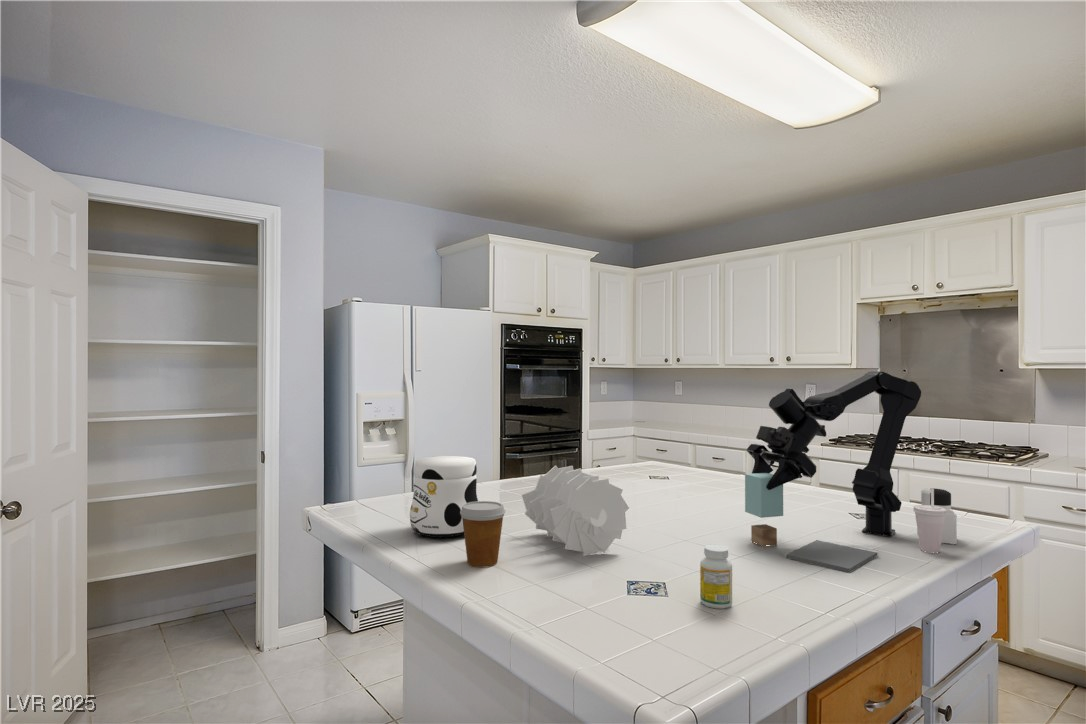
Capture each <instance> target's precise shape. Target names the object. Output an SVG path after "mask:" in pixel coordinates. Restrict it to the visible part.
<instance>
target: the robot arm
mask: <svg viewBox="0 0 1086 724" xmlns="http://www.w3.org/2000/svg"><path fill="white" fill-rule="evenodd" d="M872 393H875V394H877V395H880V404H881V406H882V410H883V414H882V417H881V420H880V423H879V427H878V429H877V434H876V437H875V440H874V443H873V446H872V451H871V453H870V457H869V461H868V463H867V465H866V466H865V467H864V468H856V470H855V474H854V477H853V480H852V481H851V484H852V492H853V493H854V496H855V499H856V503H857V504H858V506H864V507H865V527H864V528H863V529H862V530H861V532H862V533H863V534H864V533H866V534H872V535H878V536H884V537H893V535H894V534H895V533H896V529H894V528H893V527H892V526H893V525H892V523H893V521H892V520H893V519H892V513H895V512H900V510H901V506H902V501H901V500H900V499H899V498H898V496H896V494H895V493H894V492H893V490H894V481H893V476H892V474H891V468H892V464H893V463H894V458H895V455H896V451H897V448H898V445H899V440H900V437H901V435H902V431H903V427H904V425H905V421H906V418H907V417H908V416H909V415H910V414H911V413H912V412H913V411H914V410H916V408H917V406H918V403H919V401H920V399H921V396H922V389H921V388H920V387H919V385H918V383H916V382H915V381H912V380H907V379H903V378H900V377H898V376H894V375H892V374H889V373H888V372H885V371H882V370H881V371H868V372H866V373H864V375H862V376H860V377H859V378H856V379H854V380H853V381H850V382H849V383H847V384H845V385H843V386H841V387H839V388H837V389H835V390H833V391H830V392H823V393H819V394H818V393H817V394H814V395H810V396H809V397H807V398H806V399H805V400H804V401H803V400H802V399H801V398H800V397H799V395H797V393H796V391H795V390H794V389H793V388H785V390H784V391H782V392H779V393H777V394H776V395H775V396H773V397H772V398H771V399H770V400H769V403H768V407H769V408H770V409H771V410H772V411H773V413H774V414H775V415H776V416H777V417H778V418H779V419H780V421H781V422H783V424H785V425H790V426H789V427H788V428H787V427H785V426H778V427H777V428H776V427H771V426H766V425H765V426H764V425H760V426H759V429H758V432H757V434H756V437H755V439H757V440H759V441H760V440H761V442H764V443H766V444H767V445H766V446H767V447H766V446H765V445H764V444H758V443H750V445H749V446H748V447H747V449H746V452H747V453H748V454H749V455H750V456H751V458H752V459H753V460H754V464H753V468H752V470H751V471H752V472H751V474H754V473H769V474H772V472H773V471H774V469H773V468H772V466H773V465H774V464H775V463H778V467H777V469H776V470H775V472H774V473H773V476H772V478H771V479H770V481H769V482H768V484H767V486H766V488H767V489H768V490H771V489H773V488H776V487H778V486H780V485H782V484H783V485H784V484H786V483H790V482H792V481H794V480H797V479H802V478H803V477H806V478H811V479H812V478H813V477H814V476H815V474H816V473H817V465H816V464H815V463H814V461H812V459H811V458H810V457H809V456H808V455H807V454H808V452H810V449H809V445H810V444H811V442H812V441H813V440H814V439H815V437H816V436H818V437H823V438H826V437H827V432H826V431H827V430H826V425H824V424H820V423H819V422H818V421H826V422H832V421H834V420H836V419H837V418H838V417H839V416H840V415H842V414H843V413H844V411H845V409H846V408H847V407H848V406H850V405H851V404H853V403H855V402H857V401H858V400H860V399H863V398H865V397H866V396H868V395H870V394H872ZM768 449H769V450H771V452H770V451H769V450H768Z"/></svg>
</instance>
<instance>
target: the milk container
mask: <svg viewBox="0 0 1086 724" xmlns="http://www.w3.org/2000/svg"><path fill="white" fill-rule="evenodd" d="M413 465H414V466H413V496H412V502H411V504H410V508H409V522H410V527H411V528H412V530H413V531H414V532H415V533H417V534H418V535H422V536H425V537H429V538H430V537H431V538H433V537H435V538H450V537H457V536H458V537H459V536H461V535H462V536H463V535H464V528H463V520H462V517H461V514H460V511H461V510H462V506H463V505H464V504H466V503H469V502H476V501H479V500H478V499H479V498H478V495H477V478H478V476H477V472H478V470H477V469H478V468H477V462H476V459H475V458H473V457H470V456H462V455H461V456H460V455H459V456H458V455H440V456H439V455H438V456H428V457H427V456H425V457H422V458H417V459H415V460H414V464H413Z"/></svg>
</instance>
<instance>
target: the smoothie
mask: <svg viewBox="0 0 1086 724" xmlns="http://www.w3.org/2000/svg"><path fill="white" fill-rule="evenodd" d="M912 508H913V509H912V510H913V512H914V515H915V522H916V530H917V529H918V534H917V535H918V542H919V549H920V551H921V550H922V551H921V552H923V551H926V552H925V553H927V552H934V553H933V554H938V553H937V552H941V547H942V543H941V541H942V533H943V526H944V519H945V515H946V514H947V513H946V509H945V508H942V507H937V506H934V489H932V487H931V505H921V504H916V505H914V506H913V507H912Z"/></svg>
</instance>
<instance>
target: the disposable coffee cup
mask: <svg viewBox="0 0 1086 724" xmlns="http://www.w3.org/2000/svg"><path fill="white" fill-rule="evenodd" d="M460 514H461V517H462V520H463V528H464V534H463V535H464V545H465V553H466V562H467V565H468V566H470V567H475V568H488V567H493V566H495V565H497V564H498V562H499V561H498V560H499V551H500V545H501V535H502V529H503V521H504V516H505V514H506V509H505V508H504V504H503V503H501V502H497V501H493V500H492V501H491V500H478V501H476V502H469V503H466V504H464V505H463V506H462V510H461V511H460Z"/></svg>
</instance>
